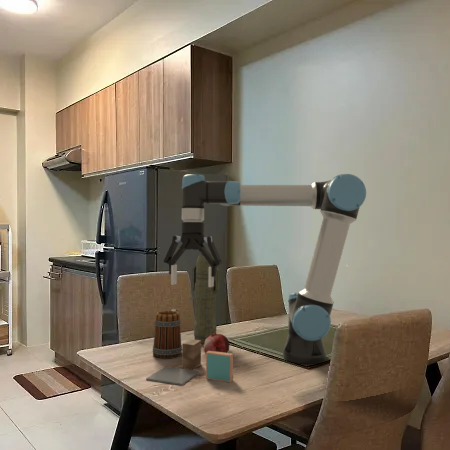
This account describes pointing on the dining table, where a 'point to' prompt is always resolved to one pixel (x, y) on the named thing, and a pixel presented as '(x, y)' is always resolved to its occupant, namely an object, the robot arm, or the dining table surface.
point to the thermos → (204, 299)
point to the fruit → (216, 343)
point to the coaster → (173, 375)
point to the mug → (167, 335)
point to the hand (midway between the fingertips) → (192, 285)
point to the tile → (219, 366)
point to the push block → (191, 354)
